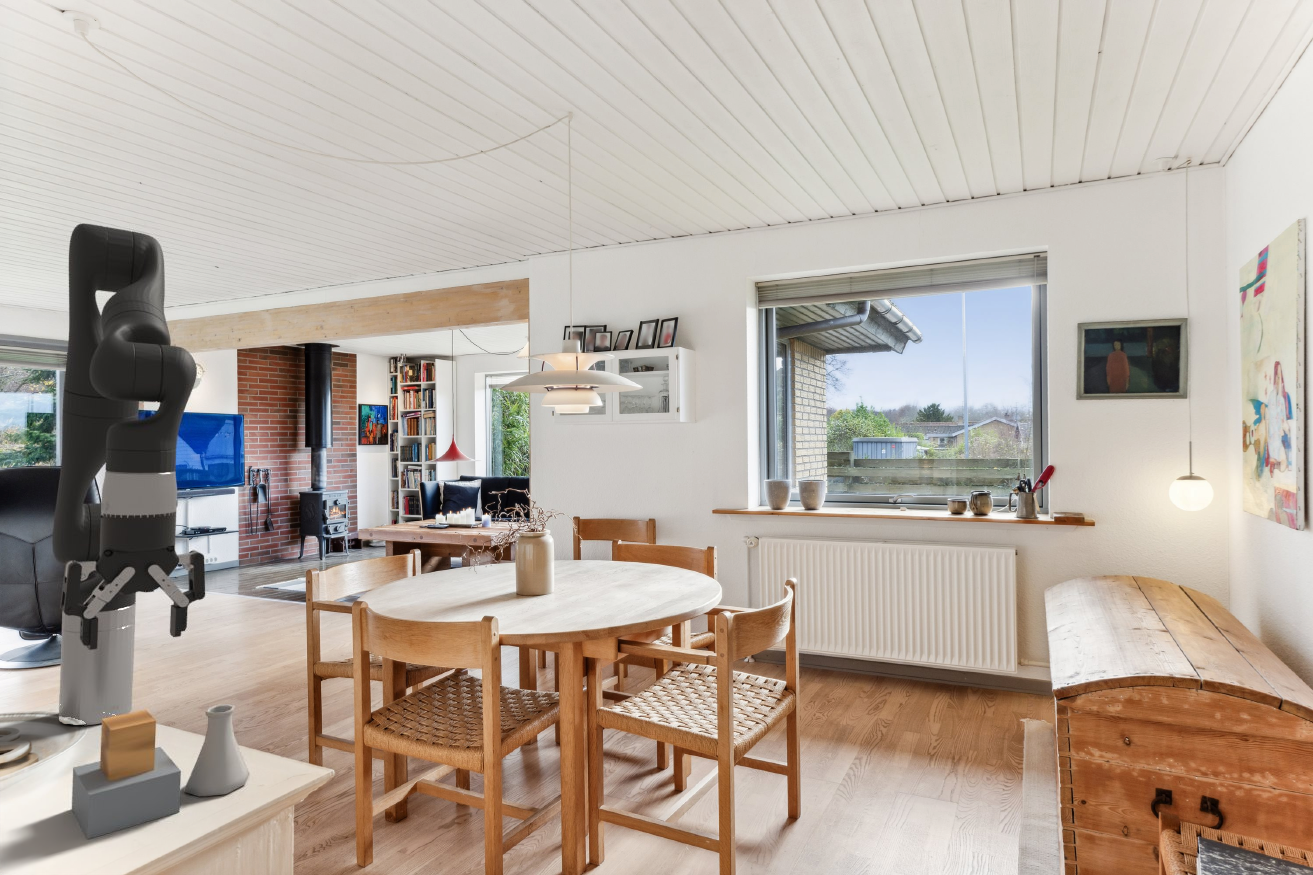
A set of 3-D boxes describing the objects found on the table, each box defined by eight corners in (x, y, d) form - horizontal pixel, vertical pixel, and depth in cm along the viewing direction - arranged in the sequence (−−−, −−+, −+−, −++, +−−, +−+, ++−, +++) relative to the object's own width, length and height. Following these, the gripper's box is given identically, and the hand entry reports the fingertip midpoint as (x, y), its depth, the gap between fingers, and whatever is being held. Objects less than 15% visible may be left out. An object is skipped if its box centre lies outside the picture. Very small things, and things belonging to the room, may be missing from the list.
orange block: (100, 768, 91) (101, 718, 91) (144, 757, 94) (145, 709, 94) (109, 781, 88) (110, 730, 88) (154, 769, 91) (156, 720, 91)
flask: (229, 799, 95) (232, 720, 94) (171, 796, 95) (174, 717, 94) (260, 773, 102) (262, 699, 102) (206, 770, 102) (209, 697, 102)
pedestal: (71, 808, 91) (73, 767, 91) (158, 785, 97) (160, 746, 97) (87, 839, 85) (88, 794, 85) (179, 811, 91) (180, 770, 91)
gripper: (196, 502, 99) (192, 625, 99) (59, 507, 89) (54, 644, 89) (215, 509, 94) (210, 638, 94) (72, 515, 83) (66, 661, 84)
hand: (134, 641), depth 91 cm, fingers open, 8 cm apart
